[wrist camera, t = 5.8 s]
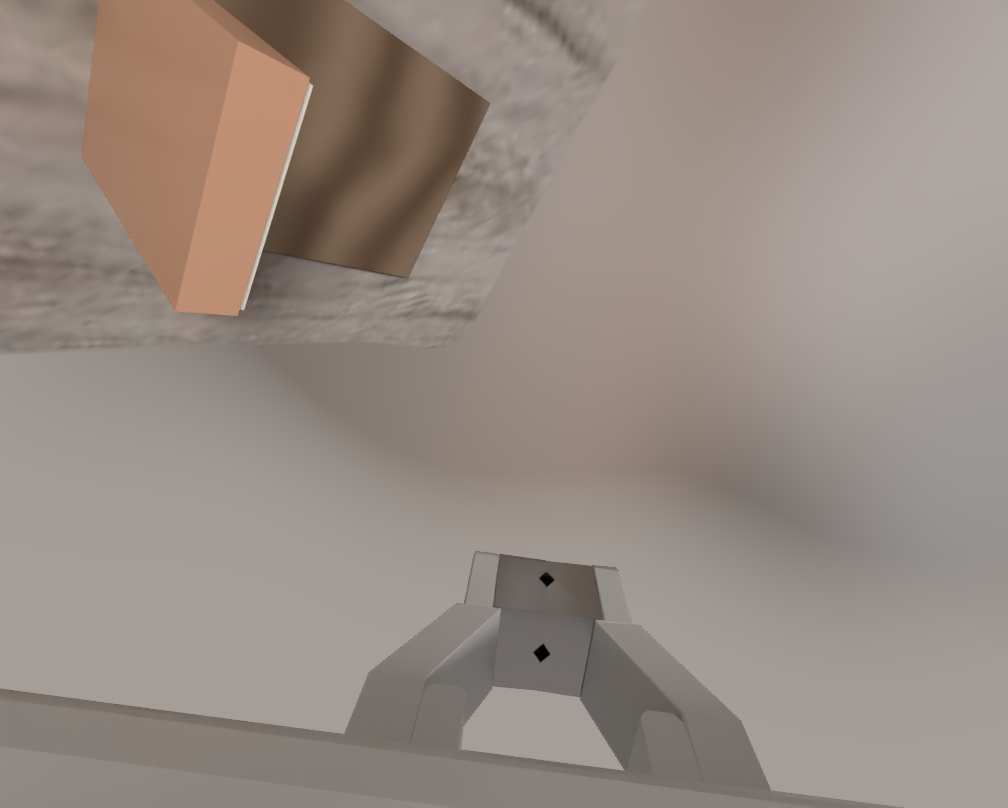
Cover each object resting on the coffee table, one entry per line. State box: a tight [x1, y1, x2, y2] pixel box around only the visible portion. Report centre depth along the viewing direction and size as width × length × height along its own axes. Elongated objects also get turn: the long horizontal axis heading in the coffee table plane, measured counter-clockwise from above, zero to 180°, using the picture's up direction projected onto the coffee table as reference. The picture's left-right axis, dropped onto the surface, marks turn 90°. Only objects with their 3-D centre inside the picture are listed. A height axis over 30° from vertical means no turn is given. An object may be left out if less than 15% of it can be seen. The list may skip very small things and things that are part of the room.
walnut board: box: [214, 0, 490, 277], centre depth 33 cm, size 20×16×1 cm
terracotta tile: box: [82, 0, 313, 316], centre depth 21 cm, size 3×10×14 cm, turn 140°
